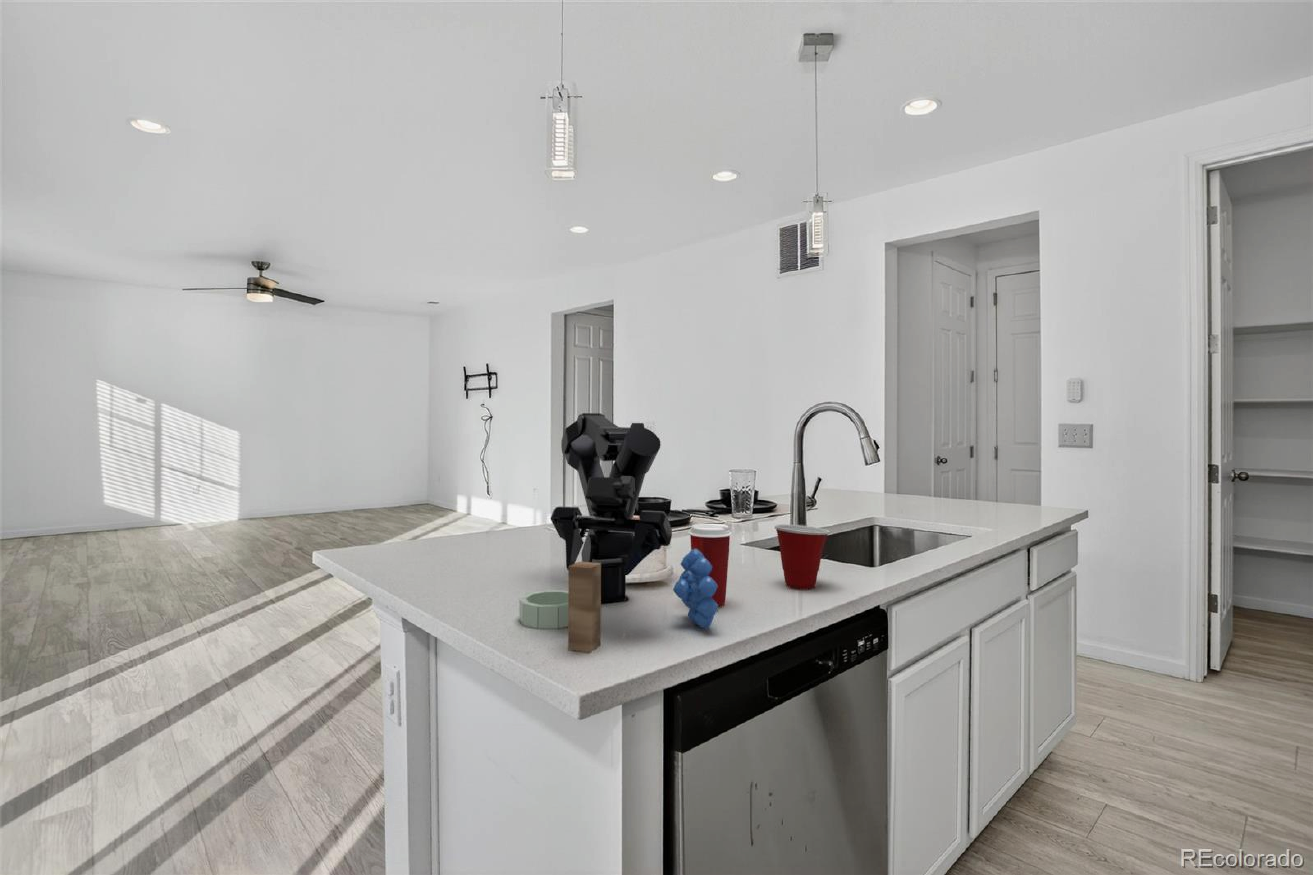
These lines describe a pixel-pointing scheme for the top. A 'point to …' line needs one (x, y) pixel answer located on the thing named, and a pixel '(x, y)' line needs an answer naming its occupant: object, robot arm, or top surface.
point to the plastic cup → (800, 553)
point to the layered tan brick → (584, 606)
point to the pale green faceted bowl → (544, 609)
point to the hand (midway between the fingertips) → (596, 571)
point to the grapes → (697, 588)
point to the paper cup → (714, 553)
